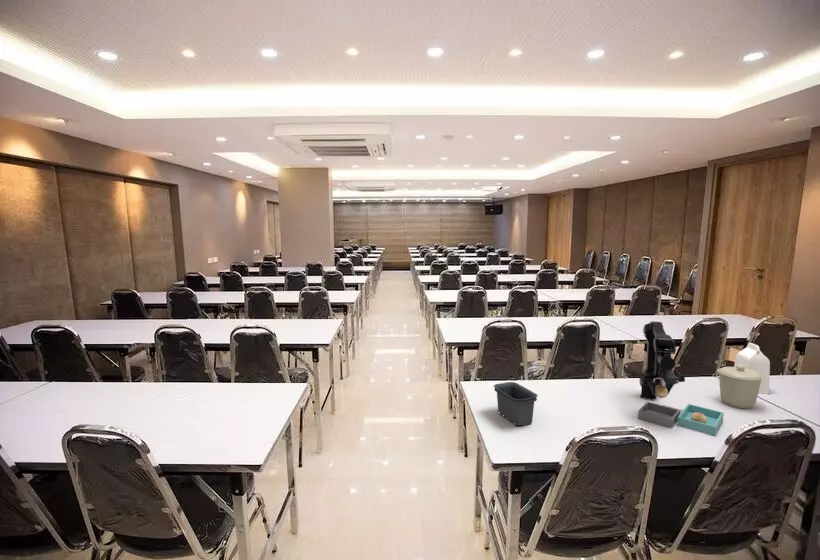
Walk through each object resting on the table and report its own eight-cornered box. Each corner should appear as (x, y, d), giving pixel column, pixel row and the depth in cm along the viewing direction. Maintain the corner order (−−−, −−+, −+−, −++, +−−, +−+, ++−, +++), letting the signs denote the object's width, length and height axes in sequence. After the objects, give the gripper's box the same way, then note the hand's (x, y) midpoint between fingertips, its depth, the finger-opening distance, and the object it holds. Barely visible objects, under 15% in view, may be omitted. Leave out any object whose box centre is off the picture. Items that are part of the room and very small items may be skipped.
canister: (708, 396, 216) (711, 358, 213) (746, 398, 212) (749, 360, 209) (727, 410, 198) (730, 369, 196) (769, 413, 194) (773, 371, 192)
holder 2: (677, 425, 184) (677, 417, 184) (687, 411, 198) (688, 403, 197) (714, 436, 174) (715, 427, 174) (723, 420, 188) (723, 412, 187)
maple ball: (651, 397, 190) (651, 385, 189) (654, 393, 194) (655, 382, 193) (665, 401, 186) (666, 388, 185) (669, 397, 190) (669, 385, 189)
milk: (731, 385, 230) (735, 341, 227) (753, 385, 229) (757, 341, 226) (745, 393, 218) (749, 347, 215) (769, 394, 217) (773, 347, 214)
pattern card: (659, 409, 200) (659, 408, 200) (662, 405, 205) (662, 404, 205) (680, 415, 194) (680, 413, 194) (683, 411, 198) (683, 409, 198)
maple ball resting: (688, 425, 183) (689, 413, 182) (691, 421, 187) (692, 408, 186) (704, 430, 179) (705, 417, 178) (707, 425, 183) (708, 412, 182)
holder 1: (637, 418, 191) (638, 410, 191) (646, 409, 201) (647, 401, 200) (671, 428, 181) (672, 419, 181) (679, 418, 191) (680, 410, 190)
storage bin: (490, 411, 201) (490, 384, 199) (516, 406, 206) (516, 379, 205) (516, 430, 181) (516, 400, 180) (543, 424, 187) (544, 395, 185)
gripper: (652, 368, 180) (650, 401, 182) (694, 368, 180) (691, 401, 181) (638, 360, 191) (637, 392, 193) (678, 360, 191) (675, 391, 193)
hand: (660, 394), depth 190 cm, fingers closed on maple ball, 6 cm apart
